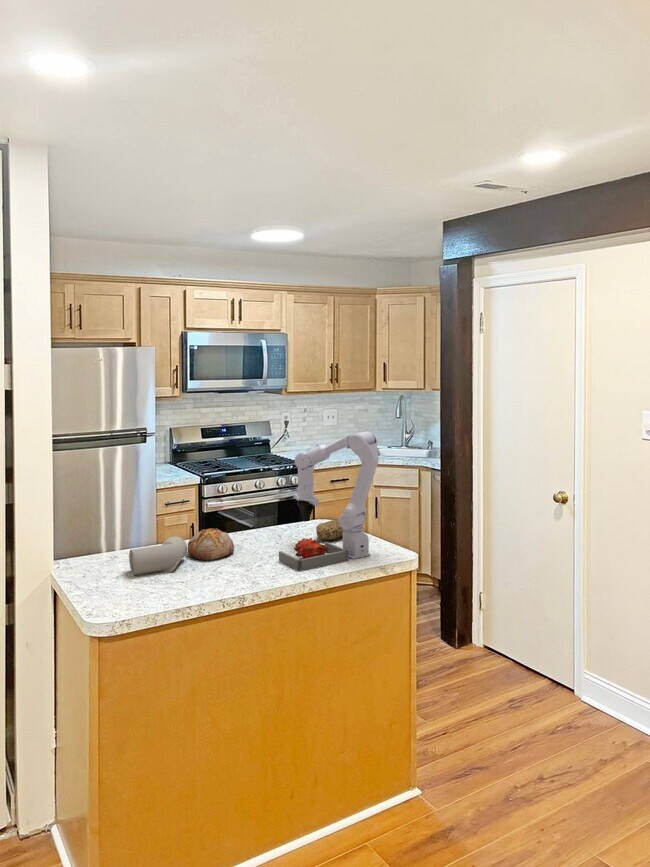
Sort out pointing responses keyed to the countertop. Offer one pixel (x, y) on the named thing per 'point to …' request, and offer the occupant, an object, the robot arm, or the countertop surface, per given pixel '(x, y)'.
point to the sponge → (329, 530)
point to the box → (315, 558)
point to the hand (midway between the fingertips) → (306, 520)
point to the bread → (210, 545)
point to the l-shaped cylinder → (158, 556)
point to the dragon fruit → (309, 548)
